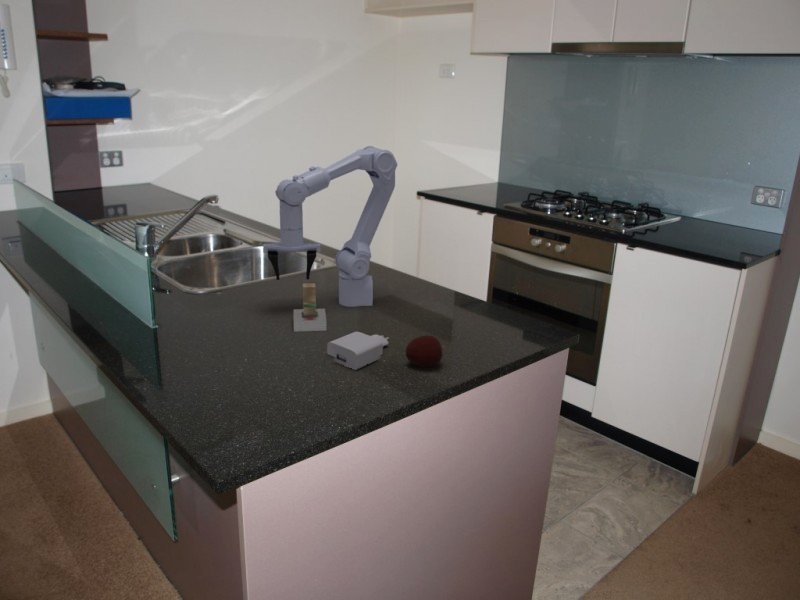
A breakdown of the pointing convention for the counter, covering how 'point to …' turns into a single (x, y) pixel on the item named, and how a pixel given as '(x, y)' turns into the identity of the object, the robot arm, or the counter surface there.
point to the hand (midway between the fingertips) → (292, 278)
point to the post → (309, 299)
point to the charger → (356, 349)
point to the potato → (424, 351)
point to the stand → (309, 321)
